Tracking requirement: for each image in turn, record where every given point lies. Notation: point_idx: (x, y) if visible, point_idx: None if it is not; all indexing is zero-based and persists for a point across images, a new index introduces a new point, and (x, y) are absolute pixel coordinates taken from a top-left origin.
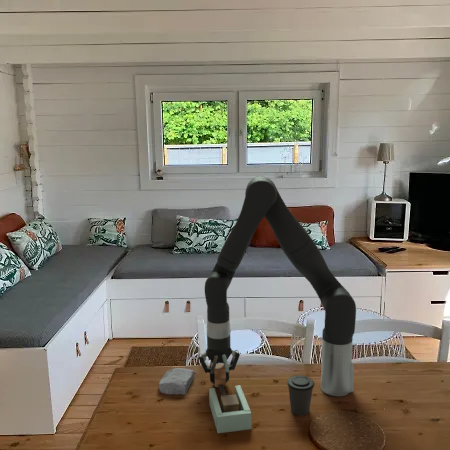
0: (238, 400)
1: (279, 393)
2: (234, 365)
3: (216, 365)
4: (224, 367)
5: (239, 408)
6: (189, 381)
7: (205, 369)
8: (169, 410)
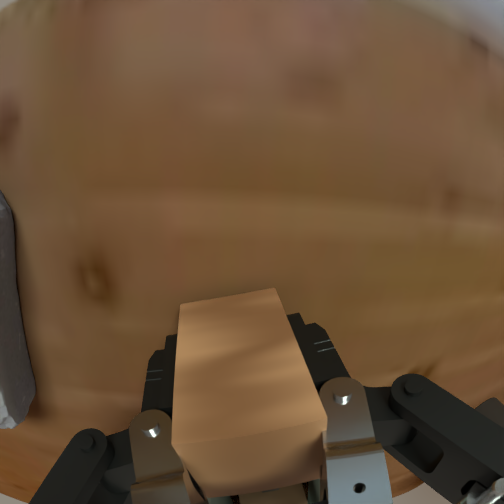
0: (319, 500)
1: (490, 353)
2: (421, 452)
3: (221, 451)
4: (317, 466)
5: (313, 487)
6: (7, 348)
7: (111, 498)
8: (37, 455)
